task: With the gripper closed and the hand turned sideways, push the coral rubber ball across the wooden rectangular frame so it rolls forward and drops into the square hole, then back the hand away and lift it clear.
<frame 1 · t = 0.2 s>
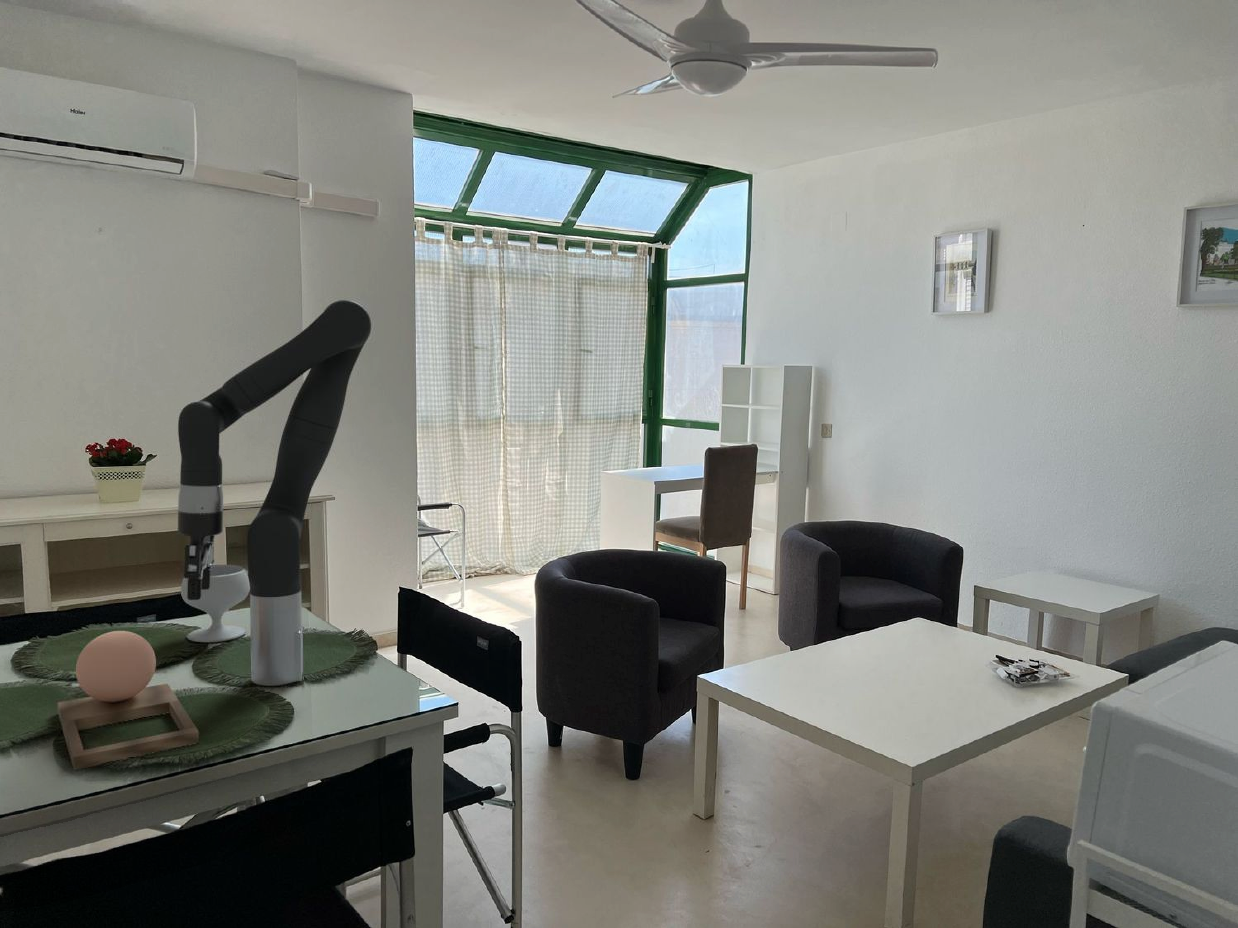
hand: (199, 594, 162), 18 cm above the table, tool pointing down, fingers open, 8 cm apart
ball: (116, 666, 150), point 8 cm above the table, touching wooden rectangular frame
chalice: (216, 636, 195), on the table
wooden rectangular frame: (125, 727, 144), on the table
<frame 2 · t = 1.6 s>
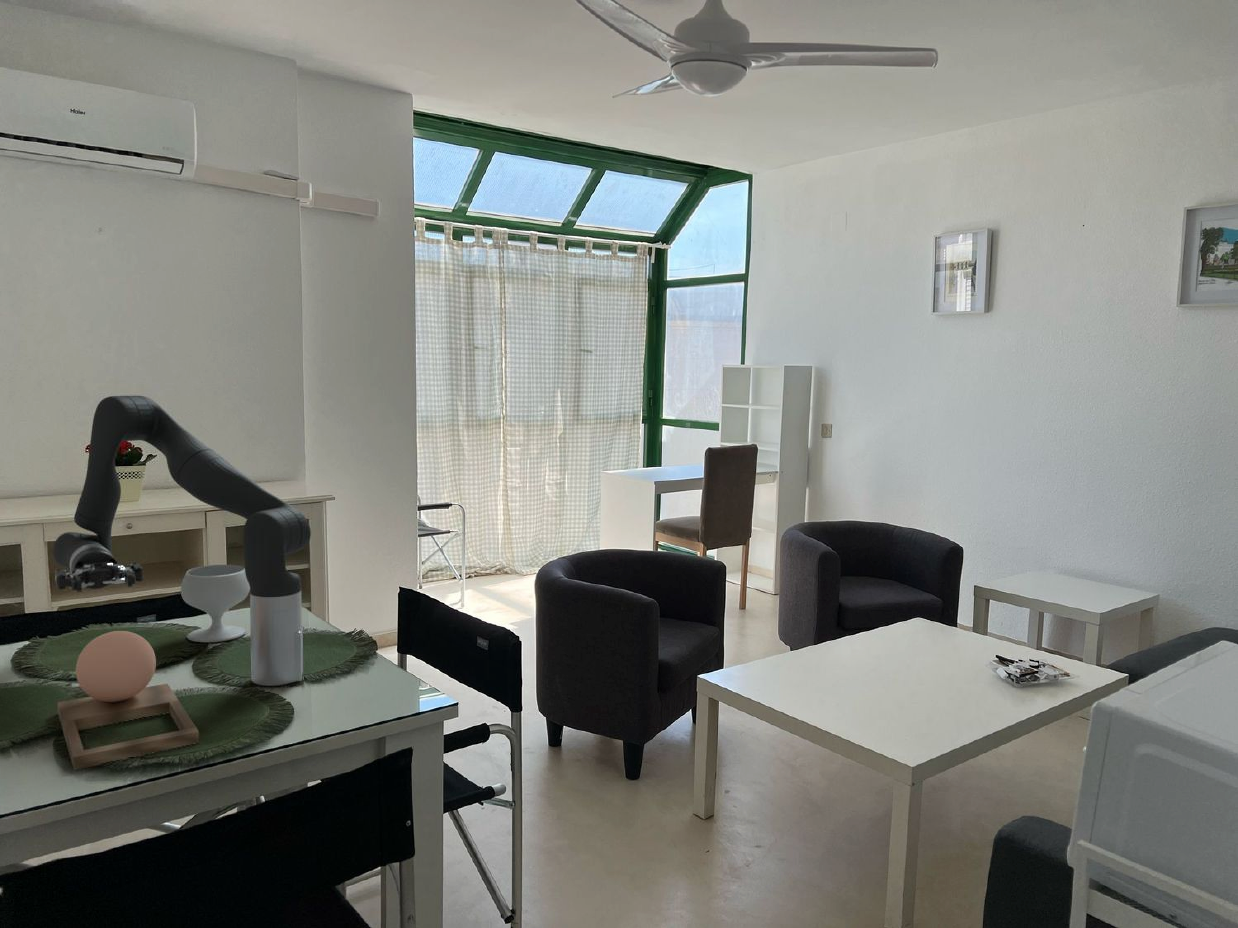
hand: (105, 583, 157), 20 cm above the table, tool horizontal, fingers open, 7 cm apart
nothing on the table moved.
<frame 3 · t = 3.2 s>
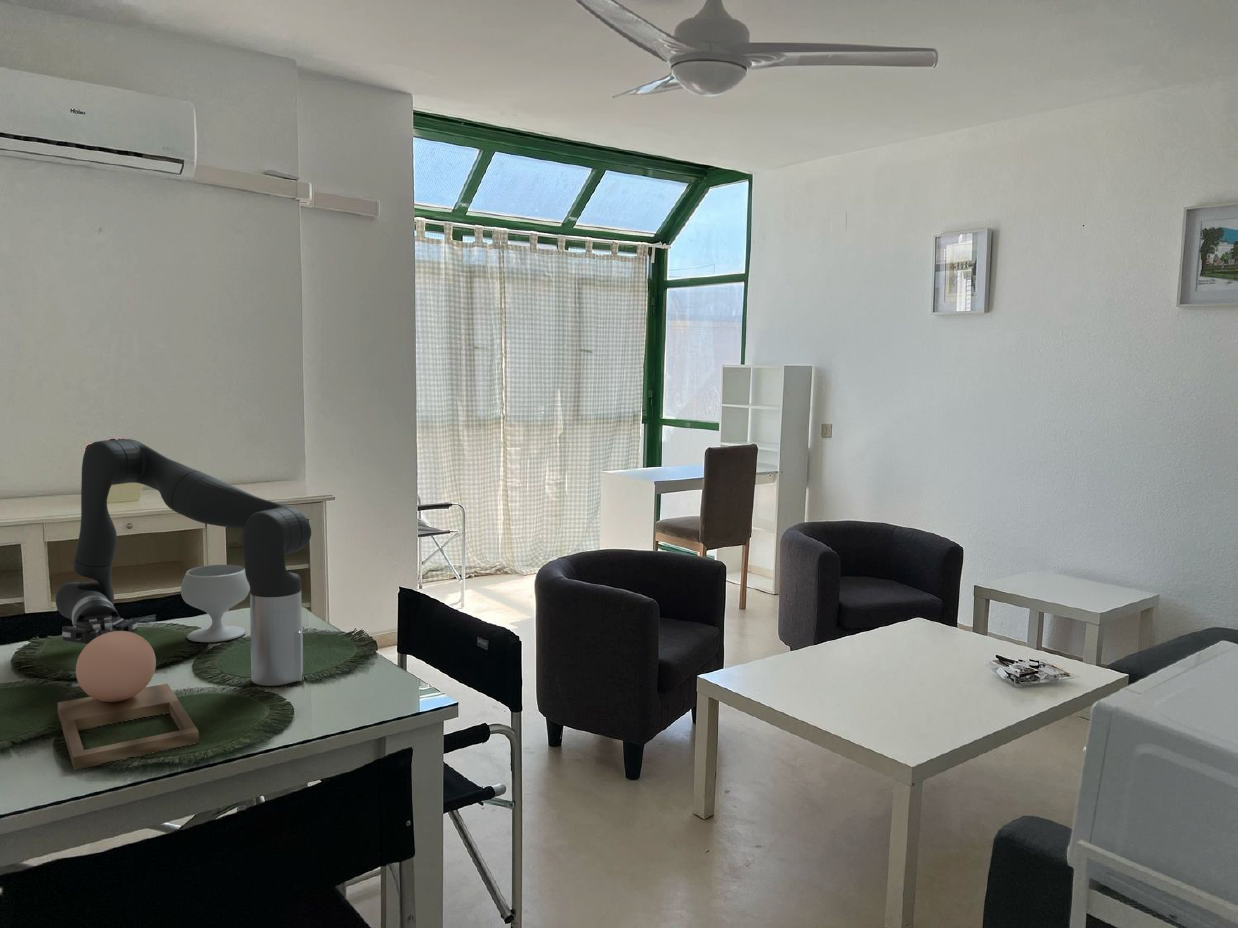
hand: (107, 641, 158), 10 cm above the table, tool horizontal, fingers closed
nothing on the table moved.
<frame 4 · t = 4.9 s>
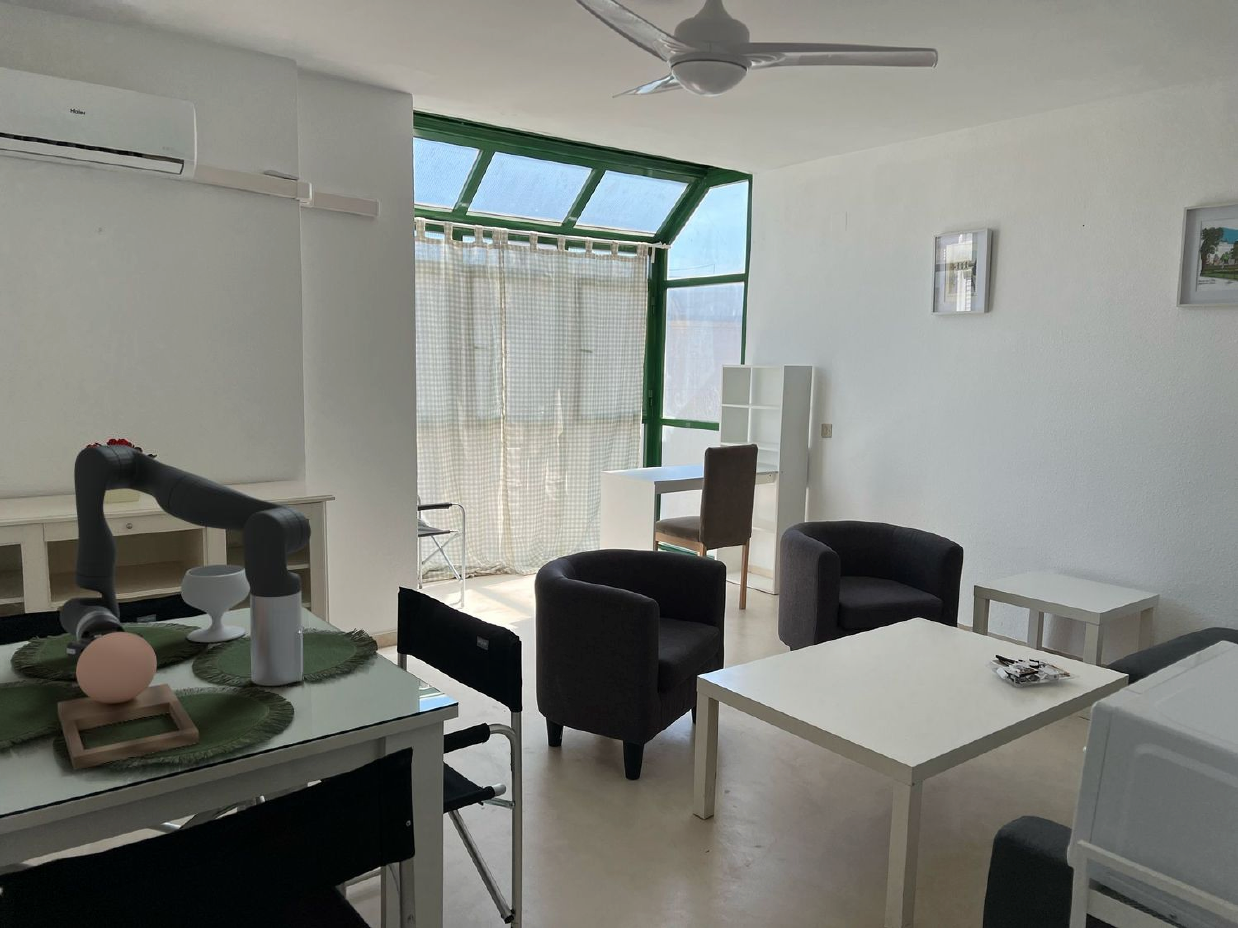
hand: (112, 657, 154), 8 cm above the table, tool horizontal, fingers closed
ball: (117, 667, 149), point 8 cm above the table, tilted 8°, touching wooden rectangular frame
everything else where it was.
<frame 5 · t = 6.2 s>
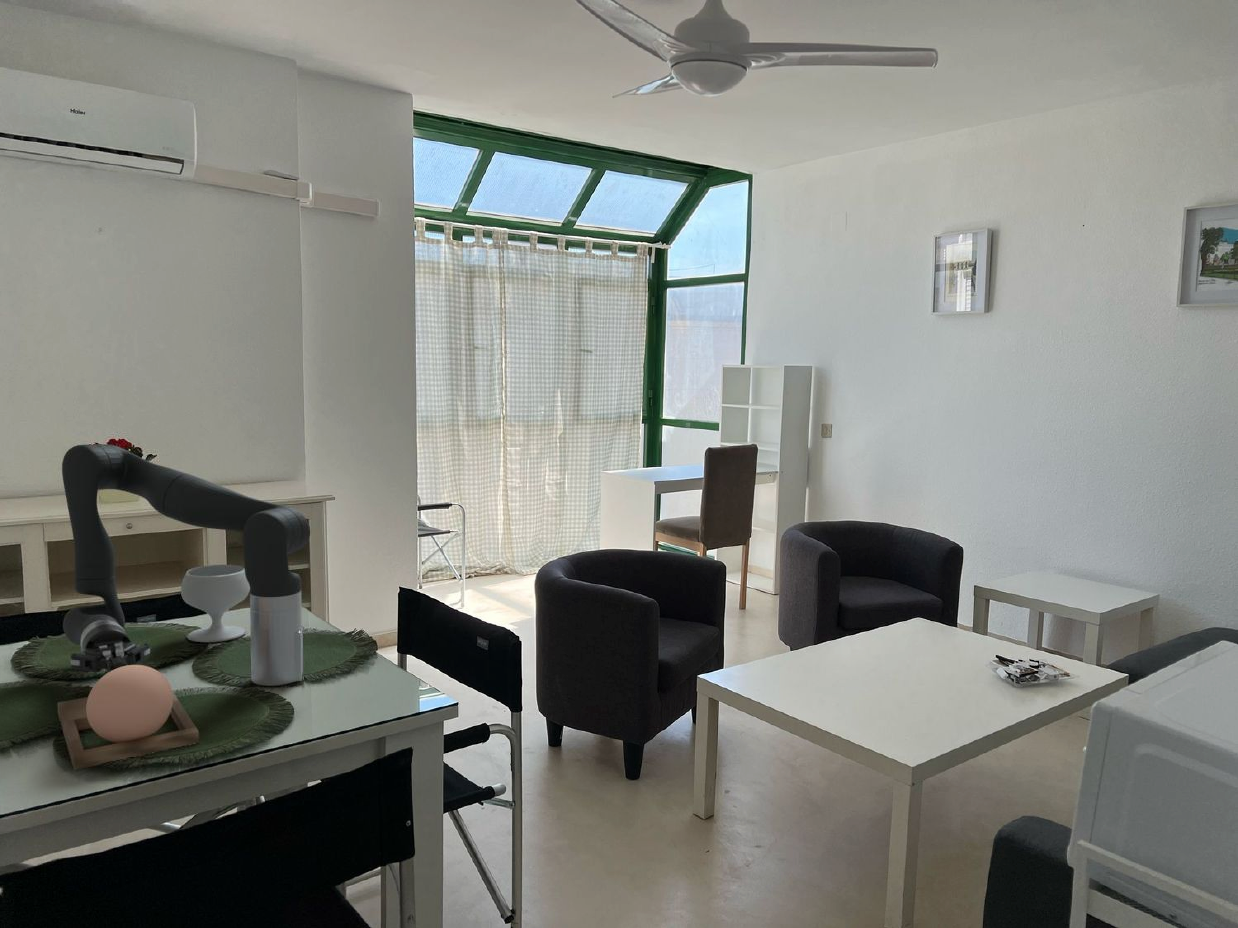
hand: (118, 669, 148), 8 cm above the table, tool horizontal, fingers closed
ball: (130, 703, 137), point 6 cm above the table, tilted 161°, touching wooden rectangular frame
everything else where it was.
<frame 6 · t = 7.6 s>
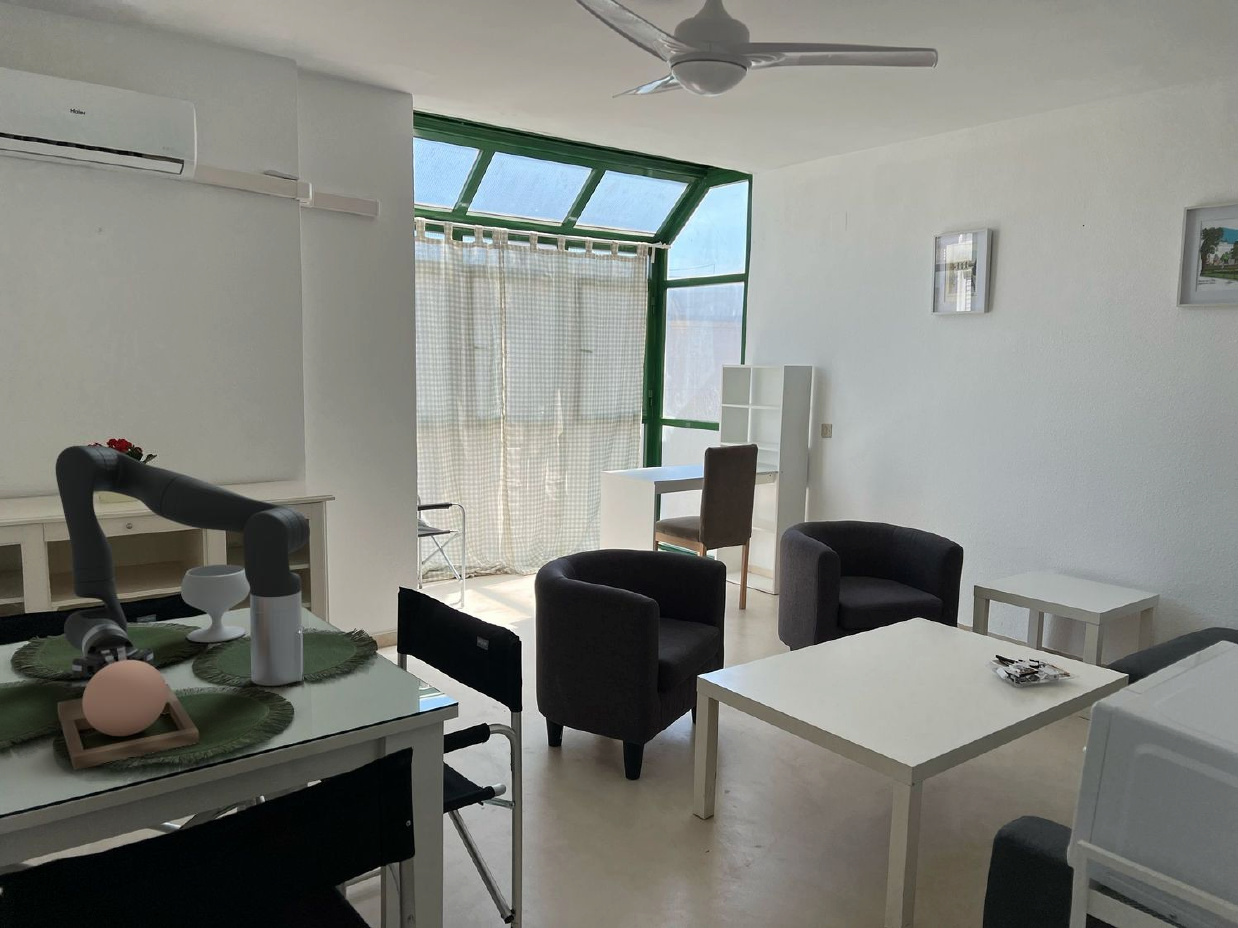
hand: (121, 675, 146), 8 cm above the table, tool horizontal, fingers closed
ball: (125, 697, 141), point 6 cm above the table, tilted 114°, touching gripper
everything else where it was.
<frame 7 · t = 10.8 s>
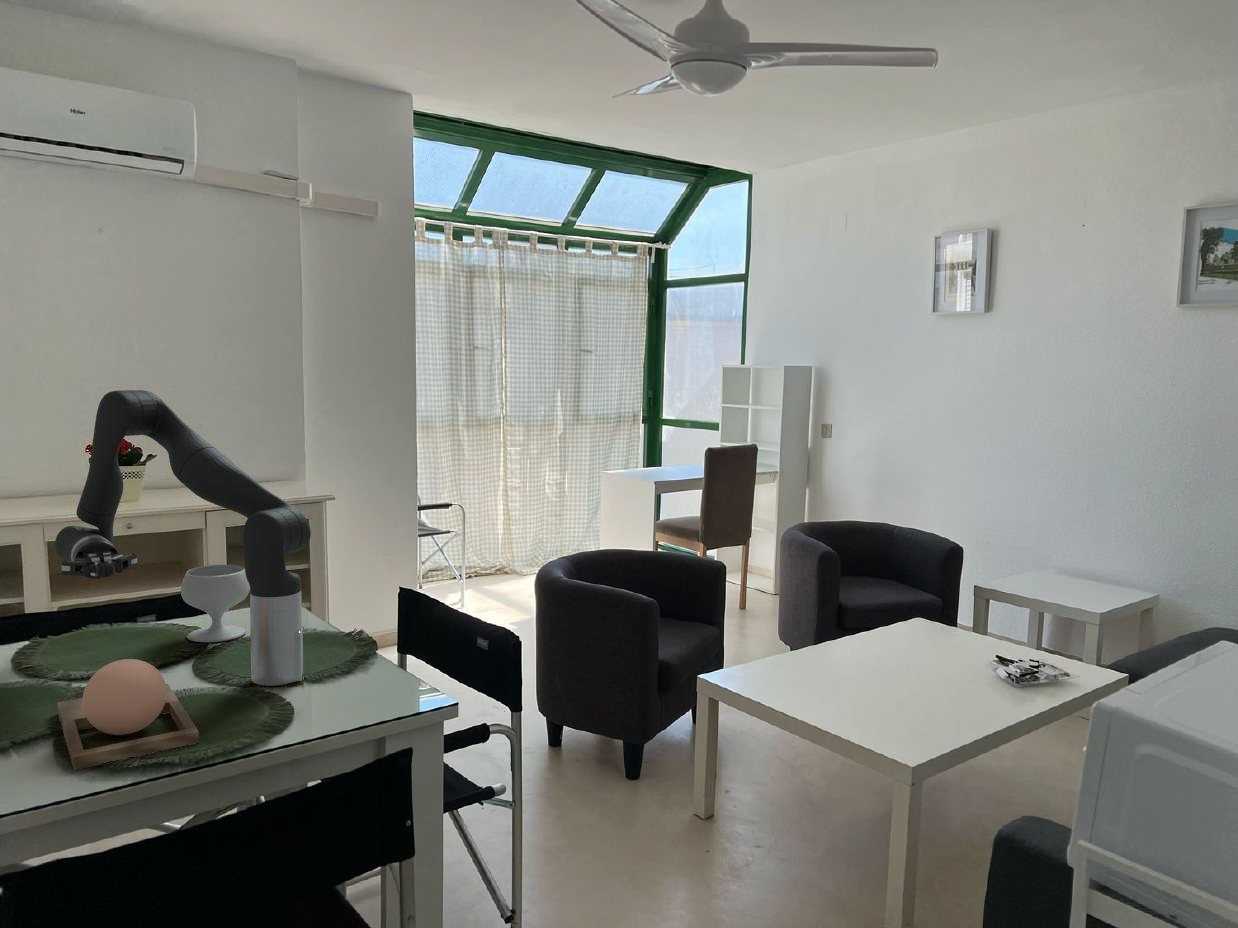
hand: (106, 571, 156), 23 cm above the table, tool horizontal, fingers closed
ball: (125, 696, 141), point 6 cm above the table, tilted 109°
everything else where it was.
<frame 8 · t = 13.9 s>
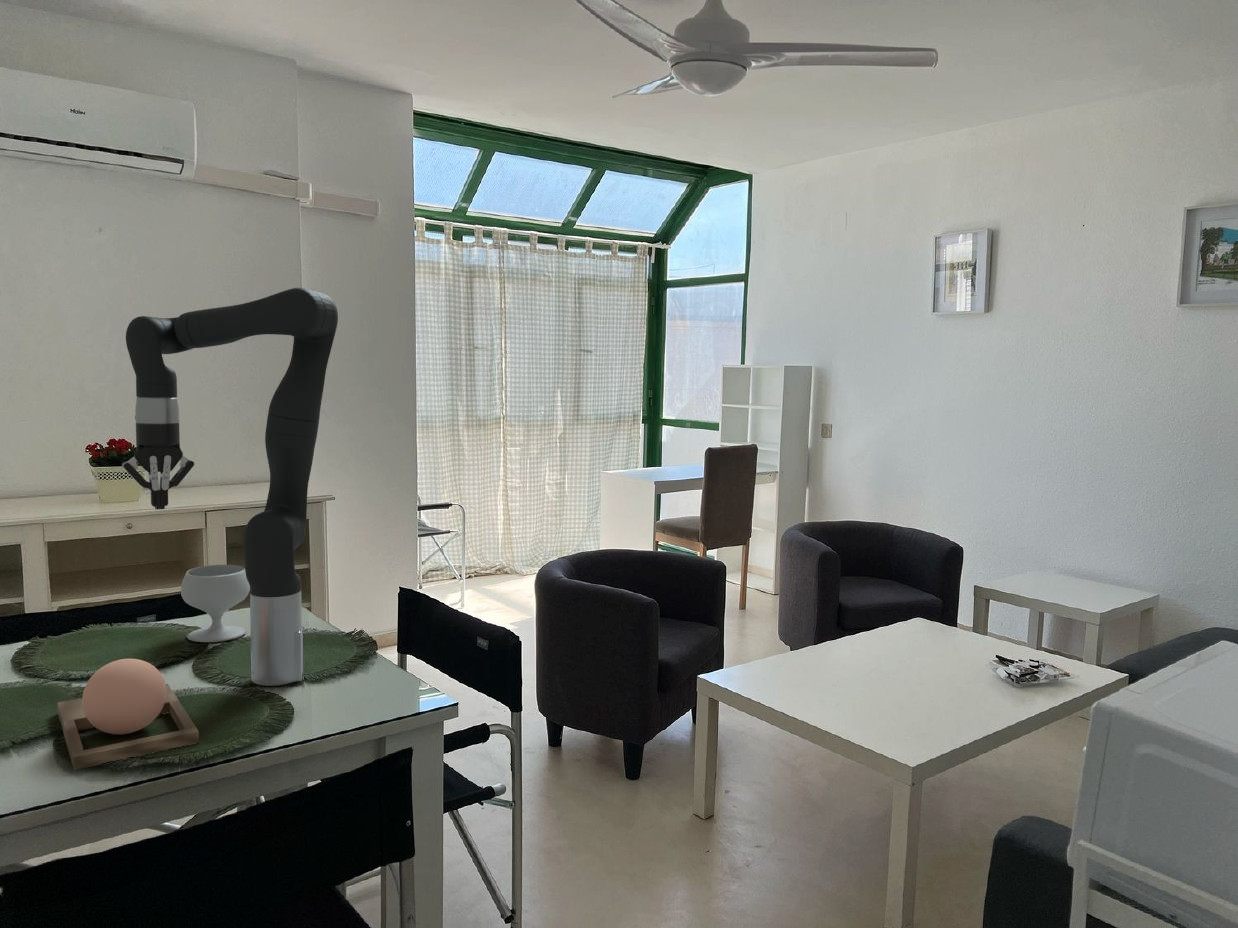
hand: (159, 508, 170), 32 cm above the table, tool pointing down, fingers closed
nothing on the table moved.
at the end: ball 2.4 cm from the target spot on the wooden rectangular frame, point 6.0 cm above the wooden rectangular frame's base; ball touching table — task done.
